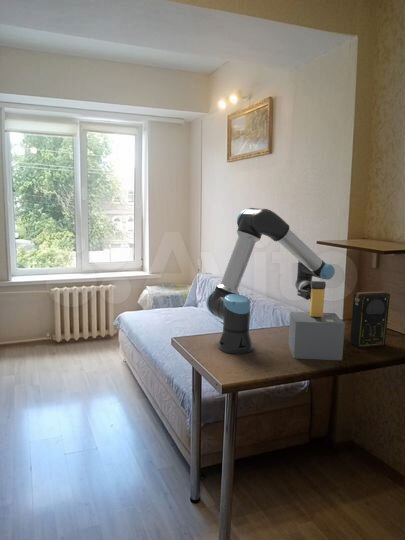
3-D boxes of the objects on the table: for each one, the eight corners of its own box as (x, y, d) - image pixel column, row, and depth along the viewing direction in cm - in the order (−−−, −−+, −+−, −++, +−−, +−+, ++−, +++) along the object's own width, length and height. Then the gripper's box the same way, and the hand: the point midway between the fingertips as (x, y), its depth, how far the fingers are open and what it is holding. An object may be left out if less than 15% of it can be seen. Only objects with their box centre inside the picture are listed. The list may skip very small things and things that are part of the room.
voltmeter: (358, 348, 191) (362, 295, 187) (347, 342, 200) (351, 290, 196) (387, 346, 196) (392, 293, 191) (375, 340, 204) (379, 289, 200)
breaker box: (293, 358, 178) (296, 321, 176) (288, 345, 194) (290, 311, 191) (342, 360, 177) (345, 323, 175) (332, 347, 193) (335, 312, 190)
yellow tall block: (310, 316, 182) (312, 281, 180) (308, 314, 186) (311, 280, 183) (323, 316, 182) (325, 282, 180) (321, 314, 185) (324, 280, 183)
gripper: (320, 297, 208) (333, 310, 185) (293, 296, 209) (302, 309, 185) (321, 282, 207) (334, 293, 184) (294, 281, 207) (303, 292, 184)
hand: (318, 301), depth 184 cm, fingers closed
